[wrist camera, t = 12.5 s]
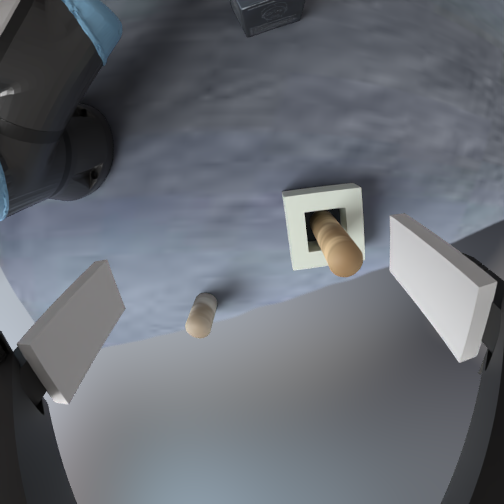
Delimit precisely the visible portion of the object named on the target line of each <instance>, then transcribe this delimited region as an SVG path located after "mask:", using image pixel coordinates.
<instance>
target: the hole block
mask: <svg viewBox="0 0 504 504" xmlns="http://www.w3.org/2000/svg"><path fill="white" fill-rule="evenodd" d="M282 196H283V203H284V210H285V217H286V224H287V232H288V239H289V247H290V255H291V261H292V266H293V271H294V270H301V269H308V268H315V267H322V266H329V265H328V263H327V261H326V259H325V257H324V255H323V252H322V250H321V248H320V246H319V244H318V242H317V241H310V242H308V241H307V232H306V223H305V215H304V212H312V211H319V210H327V209H335V208H339V212H340V224H341V226H342V227H343V228H344V230H345V231H346V232H347V233H348V235H349V236H350V237H351V238H352V240H353V241H354V242H355V244H356V245H357V246H358V247H359V249H360V250H361V252H362V254H363V260H365V246H364V223H363V206H362V192H361V187H359V186H357V185H356V184H354V183H346V184H337V185H329V186H320V187H312V188H305V189H297V190H289V191H282Z"/></svg>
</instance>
